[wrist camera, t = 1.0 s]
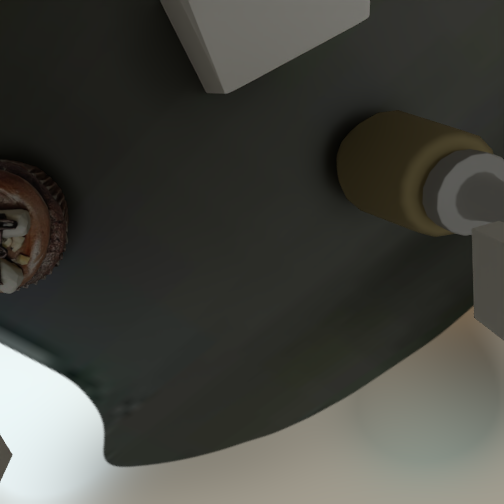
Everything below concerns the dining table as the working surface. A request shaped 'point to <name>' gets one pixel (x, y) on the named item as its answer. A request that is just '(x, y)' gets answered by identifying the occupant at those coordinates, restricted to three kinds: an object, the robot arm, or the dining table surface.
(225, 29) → the milk carton
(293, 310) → the dining table surface
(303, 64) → the dining table surface
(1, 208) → the cupcake
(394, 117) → the squeeze bottle
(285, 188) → the dining table surface
